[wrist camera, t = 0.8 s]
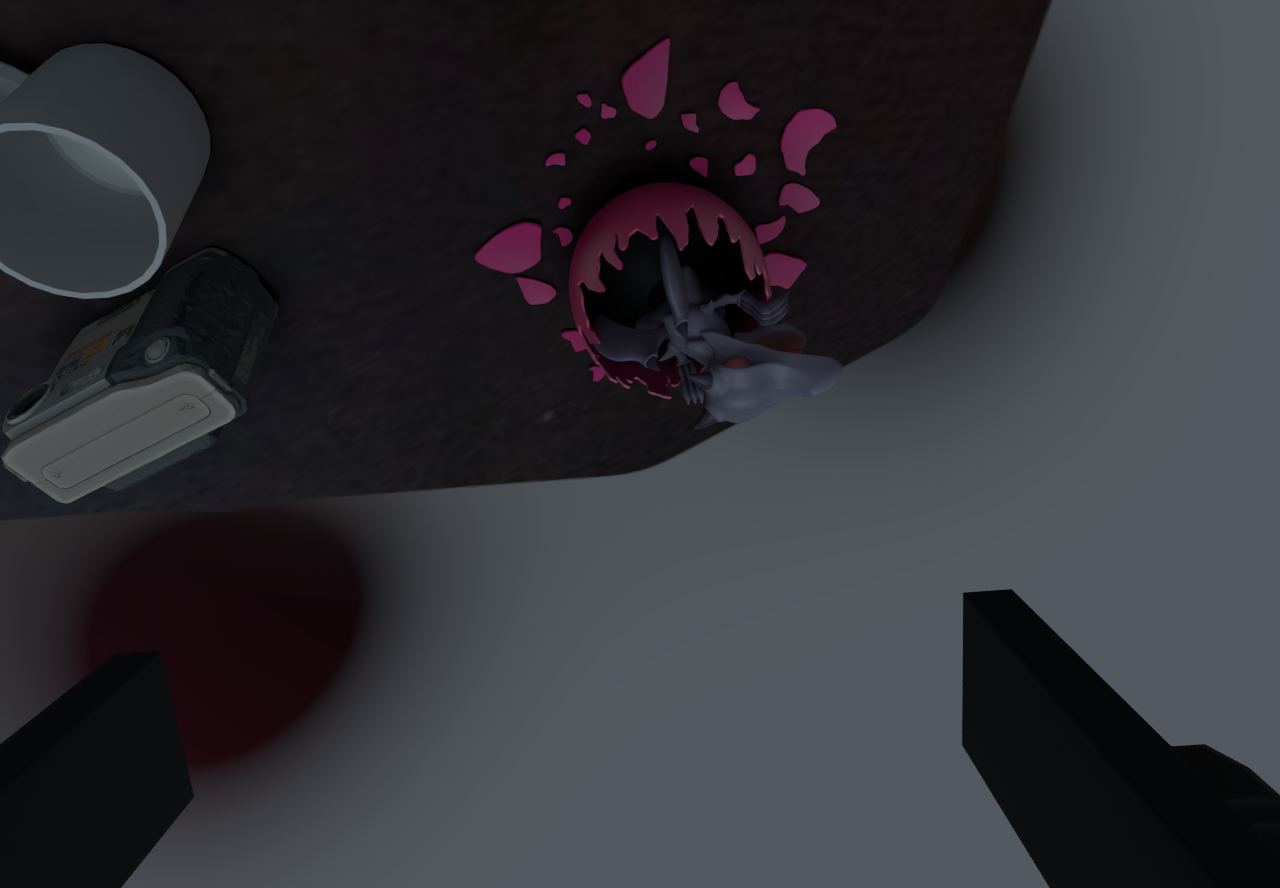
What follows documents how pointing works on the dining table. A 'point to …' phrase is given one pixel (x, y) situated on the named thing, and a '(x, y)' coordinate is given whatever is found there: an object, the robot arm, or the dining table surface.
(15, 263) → the cup
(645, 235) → the hatching egg
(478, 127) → the dining table surface
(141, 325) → the camera
